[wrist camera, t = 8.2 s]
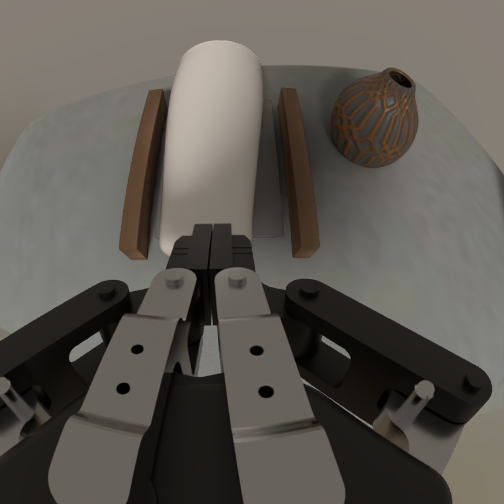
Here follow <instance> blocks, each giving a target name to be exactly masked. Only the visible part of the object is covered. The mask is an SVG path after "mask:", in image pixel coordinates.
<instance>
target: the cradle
mask: <svg viewBox="0 0 504 504" xmlns="http://www.w3.org/2000/svg"><path fill="white" fill-rule="evenodd" d="M166 110H167V107H166V102H165V98H164V93H163V89H157V90H149V92H148V96H147V99H146V103H145V107H144V110H143V114H142V118H141V122H140V126H139V130H138V134H137V139H136V143H135V148H134V153H133V157H132V162H131V167H130V173H129V178H128V184H127V190H126V196H125V203H124V210H123V217H122V225H121V233H120V242H119V250H121V251H122V252H123V253H124V254H125V255H126V256H128V257H129V258H130V259H131V260H140V259H147V253H148V239H149V228H150V217H151V207H152V198H153V190H154V182H155V175H156V168H157V161H158V154H159V148H160V142H161V136H162V131H163V125H164V120H165V115H166ZM278 114H279V122H280V130H281V138H282V147H283V156H284V165H285V175H286V185H287V195H288V206H289V217H290V229H291V241H292V254H293V258H310V257H311V255H312V254H313V253H314V252H315V251H316V250H317V249H318V248H319V247H320V242H319V233H318V224H317V216H316V208H315V200H314V193H313V185H312V178H311V172H310V165H309V159H308V152H307V146H306V140H305V135H304V129H303V123H302V118H301V113H300V107H299V102H298V97H297V92H296V89H291V88H282V89H281V94H280V99H279V103H278ZM163 167H164V160H163ZM163 167H162V175H161V183H160V192H159V201H158V211H157V222H156V234H155V237H156V238H157V239H159V233H160V222H161V209H162V185H163ZM283 236H284V231H283V218H282V206H281V194H280V182H279V171H278V160H277V150H276V140H275V130H274V121H273V112H272V103H271V100H263V115H262V125H261V134H260V144H259V154H258V164H257V174H256V184H255V195H254V206H253V218H252V237H283Z"/></svg>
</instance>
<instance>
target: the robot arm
mask: <svg viewBox="0 0 504 504" xmlns="http://www.w3.org/2000/svg"><path fill="white" fill-rule="evenodd" d="M211 316H212V319H213V325H217V330H218V345H219V355H220V365H221V373H220V374H215V375H210V376H205V377H197V376H198V370H199V364H200V358H201V352H202V346H203V337H202V335H203V332H204V325H211ZM98 331H99V332H100V334H101V337H102V339H103V342H102V343H101V344H99V345H98V346H96V347H95V348H93V349H92V350H90V351H89V352H87V353H86V354H85V355H83V356H82V357H80V358H79V359H77V360H76V361H74V362H70V360H69V354H70V352H71V350H72V349H73V348H74V347H75V346H77V345H79V344H80V343H82V342H83V341H85V340H86V339H88V338H89V337H91V336H92V335H94V334H95V333H97V332H98ZM322 335H323V336H325V337H326V338H328V339H329V340H331V341H333V342H334V343H336V344H337V345H339V346H341V347H342V348H344V349H345V350H346V351H347V352H348V353H349V355H350V358H351V359H349V358H347V357H346V356H344V355H343V354H341V353H339V352H338V351H336V350H335V349H333V348H332V347H330V346H328V345H327V344H325V343H324V342H322V341H321V339H322ZM301 378H303V379H304V380H306V381H307V382H308V383H310V384H311V385H312V386H314V387H315V388H317V389H318V390H320V391H321V392H322V393H321V392H320V391H318V390H316V389H314V388H313V387H310V386H308V385H306V384H303V383H302V380H301ZM323 393H324V394H325V395H327V396H328V397H330V398H331V399H333V400H334V401H335V402H337V403H338V404H340V405H341V406H343V407H344V408H346V409H347V410H349V411H350V412H352V413H353V414H355V415H356V416H358V417H359V418H361V419H362V420H364V421H366V422H367V423H369V424H370V425H372V426H373V429H371V428H370V427H368V426H367V425H366V424H364V423H363V422H361V421H360V420H358V419H357V418H356V417H354V416H353V415H351V414H350V413H349V412H347V411H346V410H344V409H343V408H342V407H340V406H339V405H338V404H336V403H335V402H333V401H332V400H331V399H329V398H328V397H327V396H325V395H324V394H323ZM491 394H492V384H491V381H490V379H489V377H488V375H487V374H486V373H485V372H484V371H483V370H482V369H481V368H479V367H478V366H476V365H474V364H472V363H470V362H469V361H467V360H465V359H463V358H461V357H459V356H458V355H456V354H454V353H452V352H450V351H448V350H446V349H445V348H443V347H441V346H439V345H437V344H435V343H434V342H432V341H430V340H428V339H426V338H424V337H422V336H421V335H419V334H417V333H415V332H413V331H411V330H410V329H408V328H406V327H404V326H402V325H400V324H398V323H397V322H395V321H393V320H391V319H389V318H387V317H385V316H383V315H382V314H380V313H378V312H376V311H374V310H372V309H370V308H369V307H367V306H365V305H363V304H361V303H359V302H357V301H355V300H354V299H352V298H350V297H348V296H346V295H344V294H342V293H341V292H339V291H337V290H335V289H333V288H331V287H329V286H327V285H325V284H324V283H322V282H319V281H317V280H313V279H298V280H294V281H292V282H290V283H289V284H288V285H287V287H286V290H282V289H276V288H272V287H269V286H267V285H265V284H263V283H262V282H261V280H260V278H259V276H258V274H257V273H256V272H255V265H254V259H253V254H252V247H251V241H250V240H249V239H248V238H247V237H246V236H245V235H232V229H231V223H218V224H214V226H213V225H212V224H195V225H194V228H193V232H192V235H191V236H181V237H180V238H179V239H177V240H176V241H175V243H174V246H173V249H172V252H171V255H170V258H169V261H168V264H167V267H166V270H164V271H162V272H160V273H158V274H157V275H156V276H155V277H154V279H153V281H152V283H151V285H150V287H149V288H147V289H143V290H138V291H133V292H129V289H128V286H127V284H126V283H124V282H122V281H119V280H107V281H103V282H100V283H98V284H96V285H94V286H93V287H91V288H89V289H87V290H85V291H84V292H82V293H80V294H78V295H77V296H75V297H73V298H71V299H70V300H68V301H66V302H64V303H63V304H61V305H59V306H57V307H56V308H54V309H52V310H51V311H49V312H47V313H45V314H44V315H42V316H40V317H39V318H37V319H35V320H34V321H32V322H30V323H29V324H27V325H25V326H24V327H22V328H21V329H19V330H17V331H16V332H14V333H12V334H11V335H9V336H8V337H6V338H5V339H3V340H1V341H0V504H452V495H451V492H450V489H449V487H448V485H447V483H446V481H445V480H444V478H443V477H442V476H441V475H442V473H443V471H444V469H445V467H446V465H447V463H448V461H449V459H450V457H451V455H452V452H453V451H454V448H455V446H456V444H457V442H458V439H459V437H460V434H461V432H462V430H463V427H464V425H465V424H466V423H467V422H468V421H469V420H470V419H471V418H472V417H473V416H474V415H475V414H476V413H477V412H478V411H479V410H480V409H481V408H482V406H483V405H484V404H485V403H486V402H487V401H488V400H489V398H490V396H491Z"/></svg>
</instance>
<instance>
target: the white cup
mask: <svg viewBox="0 0 504 504" xmlns="http://www.w3.org/2000/svg"><path fill="white" fill-rule="evenodd" d="M262 115H263V77H262V66H261V63H260V61H259V59H258V57H257V56H256V55H255V54H254V52H252V51H251V50H250V49H249V48H247V47H245V46H243V45H241V44H239V43H236V42H232V41H225V40H213V41H207V42H204V43H201V44H198V45H196V46H194V47H193V48H191V49H189V50H188V51H187V52H186V53H185V54H184V55H183V57H182V58H181V60H180V63H179V66H178V68H177V72H176V74H175V78H174V81H173V85H172V89H171V94H170V99H169V106H168V115H167V126H166V138H165V151H164V167H163V185H162V209H161V222H160V233H159V245H160V248H161V250H162V252H163V253H164V254H166V255H167V256H169V257H170V255H171V252H172V249H173V246H174V243H175V241H176V240H177V239H179V238H180V237H181V236H191V235H192V232H193V228H194V225H195V224H212V225H213V226H214V224H218V223H231V229H232V235H245V236H246V237H247V238H248V239H249V240H250V241H251V247H252V218H253V206H254V195H255V184H256V174H257V164H258V154H259V144H260V134H261V125H262Z"/></svg>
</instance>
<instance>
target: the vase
mask: <svg viewBox="0 0 504 504" xmlns="http://www.w3.org/2000/svg"><path fill="white" fill-rule="evenodd" d="M415 89H416V86H415V83H414V82H413V80H412V79H411V78H410V77H409V76H408V75H407V74H406V73H404V72H402V71H401V70H398V69H396V68H387V69H385V70H384V71H382V72H380V73H378V74H374V75H370V76H366V77H363V78H360V79H358V80H355V81H354V82H352V83H351V84H350V85H348V86H347V87H346V88H345V89H344V90H343V92H342V93H341V94H340V95H339V97H338V99H337V101H336V103H335V105H334V108H333V111H332V115H331V133H332V137H333V140H334V142H335V144H336V146H337V148H338V149H339V151H340V152H341V153H342V154H343V155H344V156H345V157H346V158H347V159H349V160H350V161H352V162H353V163H355V164H357V165H360V166H363V167H368V168H380V167H384V166H387V165H389V164H392V163H393V162H395V161H397V160H398V159H399V158H401V157H402V156H403V155H404V154H405V153H406V152H407V150H408V149H409V148H410V146H411V145H412V143H413V141H414V139H415V136H416V133H417V129H418V111H417V105H416V101H415Z"/></svg>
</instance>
